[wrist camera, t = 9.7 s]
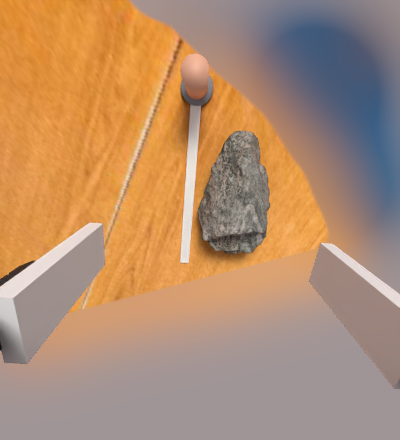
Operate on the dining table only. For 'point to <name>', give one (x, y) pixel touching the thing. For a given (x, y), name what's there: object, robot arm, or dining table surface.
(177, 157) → the dining table surface
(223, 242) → the rock
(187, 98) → the crank handle
